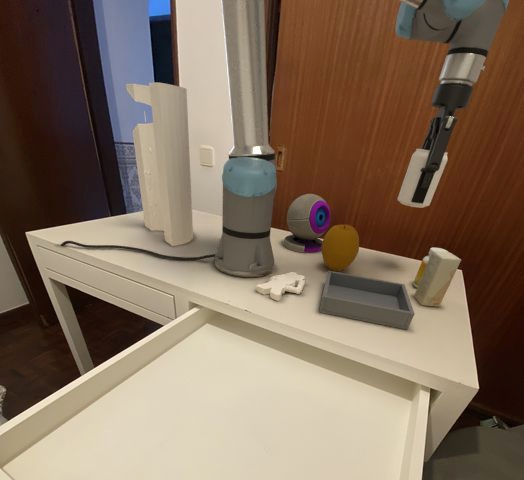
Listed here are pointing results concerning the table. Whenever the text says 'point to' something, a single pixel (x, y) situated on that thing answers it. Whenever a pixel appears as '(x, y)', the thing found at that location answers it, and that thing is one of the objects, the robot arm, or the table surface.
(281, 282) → the white abstract figurine
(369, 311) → the tray
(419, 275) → the supplement bottle
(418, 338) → the table surface
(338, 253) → the apple
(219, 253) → the robot arm
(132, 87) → the white tall block
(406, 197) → the beverage can
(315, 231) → the webcam
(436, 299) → the box
